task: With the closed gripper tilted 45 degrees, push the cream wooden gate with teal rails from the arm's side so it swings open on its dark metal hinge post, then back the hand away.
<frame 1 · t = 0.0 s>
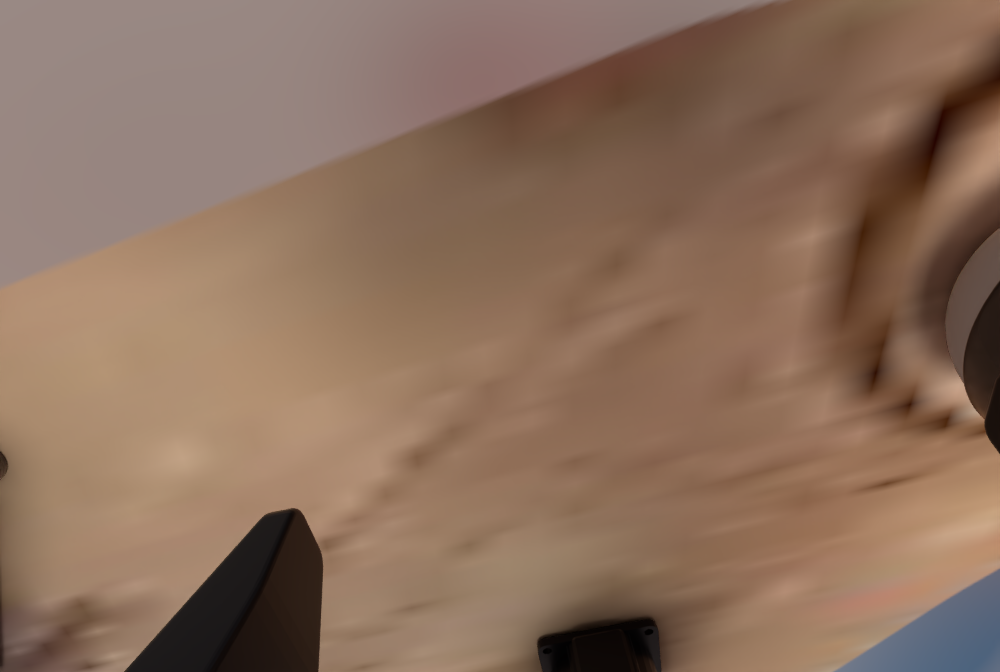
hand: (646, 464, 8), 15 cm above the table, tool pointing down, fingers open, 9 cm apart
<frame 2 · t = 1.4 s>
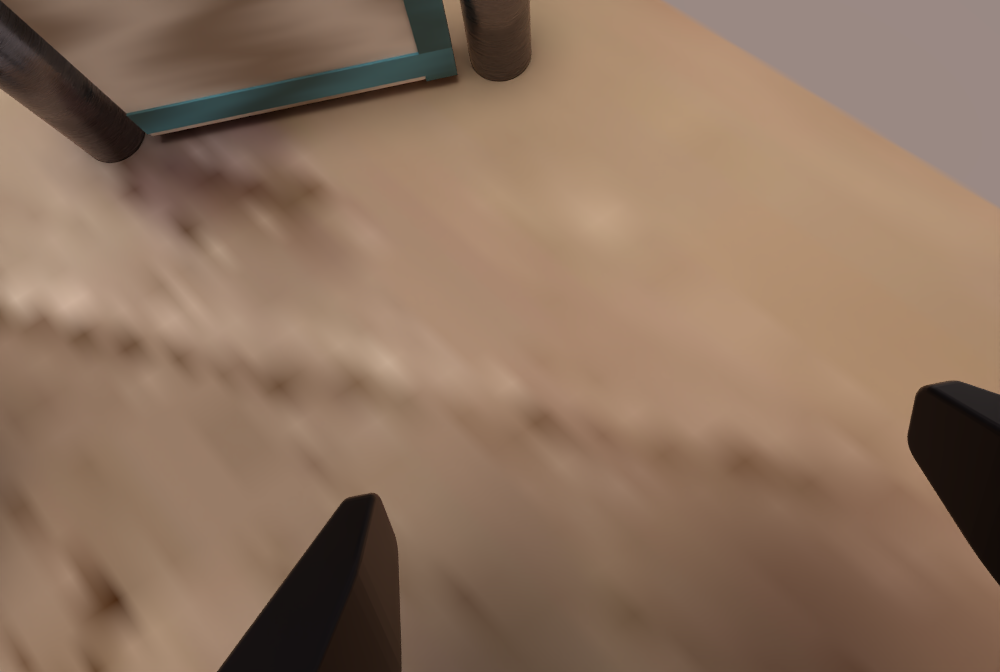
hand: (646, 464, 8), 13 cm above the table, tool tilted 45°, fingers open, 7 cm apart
gate posts: (115, 135, 25), on the table
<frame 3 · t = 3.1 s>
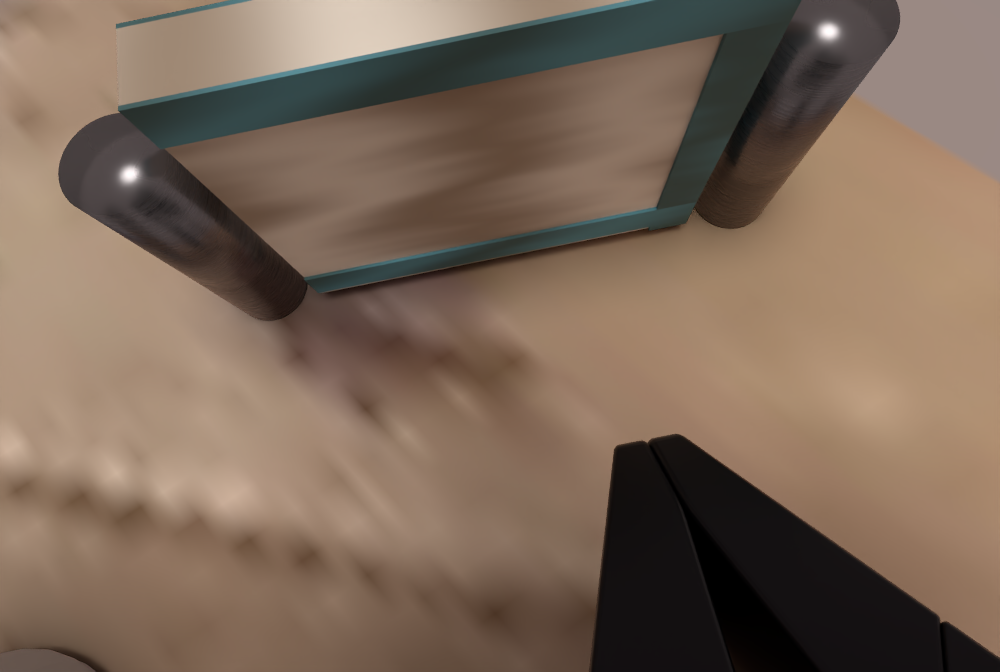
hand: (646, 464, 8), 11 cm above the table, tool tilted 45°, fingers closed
gate posts: (271, 286, 21), on the table
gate: (483, 152, 15), point 5 cm above the table, hinge at 0.0°
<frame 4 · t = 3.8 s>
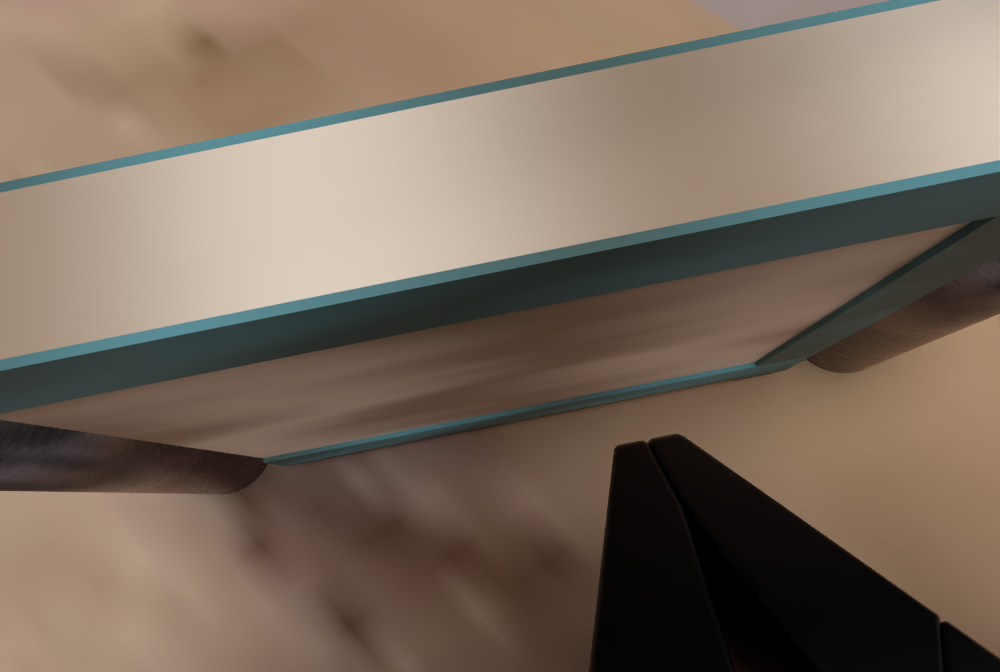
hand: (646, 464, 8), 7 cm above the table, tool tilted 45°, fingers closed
gate posts: (225, 445, 16), on the table
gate: (522, 326, 10), point 5 cm above the table, hinge at 0.0°
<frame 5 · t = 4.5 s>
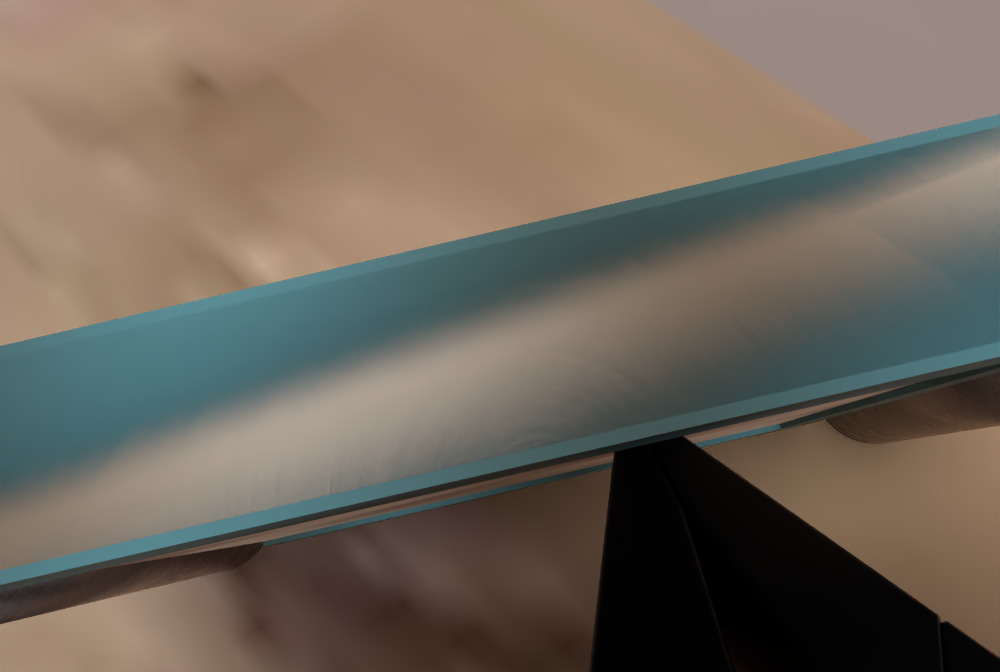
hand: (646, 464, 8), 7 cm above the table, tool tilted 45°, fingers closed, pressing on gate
gate posts: (222, 517, 15), on the table
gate: (539, 417, 9), point 6 cm above the table, hinge at 1.9°, touching gripper
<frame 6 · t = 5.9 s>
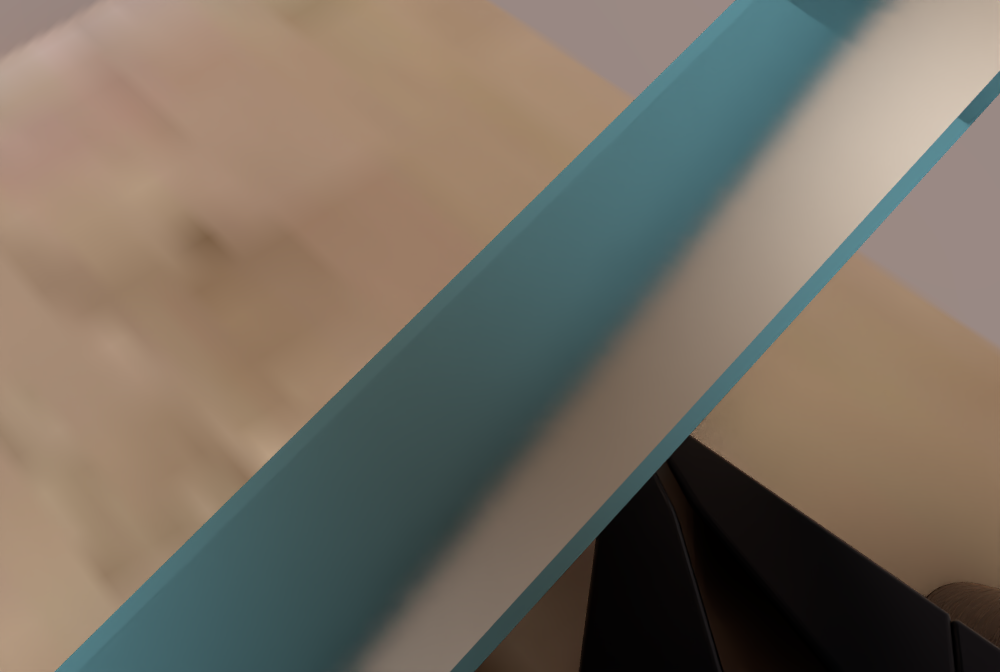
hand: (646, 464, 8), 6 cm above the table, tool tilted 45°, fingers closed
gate: (464, 516, 9), point 6 cm above the table, hinge at 35.3°, touching gripper
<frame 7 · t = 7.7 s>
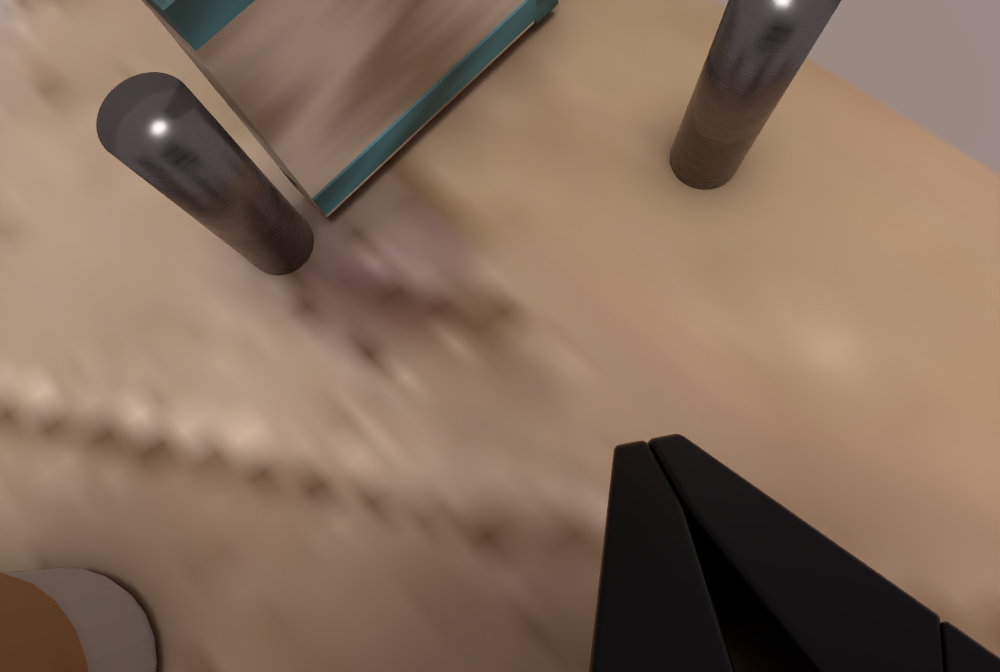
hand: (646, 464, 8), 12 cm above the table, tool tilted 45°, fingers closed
gate posts: (281, 243, 23), on the table
coffee cup: (72, 670, 20), on the table
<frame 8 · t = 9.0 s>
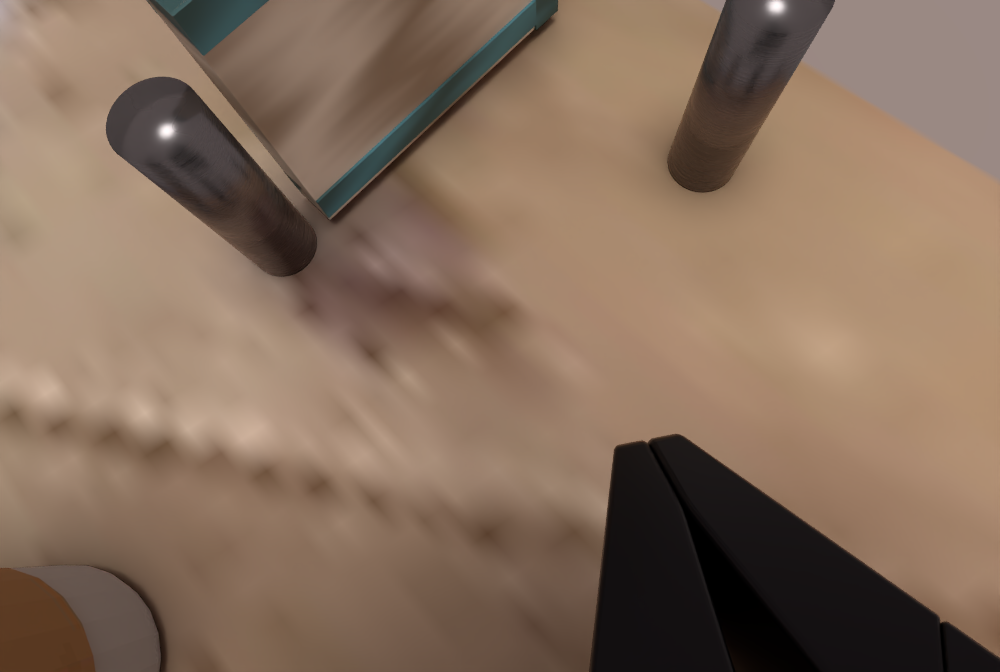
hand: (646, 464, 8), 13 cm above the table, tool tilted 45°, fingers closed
gate posts: (284, 245, 23), on the table
coffee cup: (77, 666, 20), on the table
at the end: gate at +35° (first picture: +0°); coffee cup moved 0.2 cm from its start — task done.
